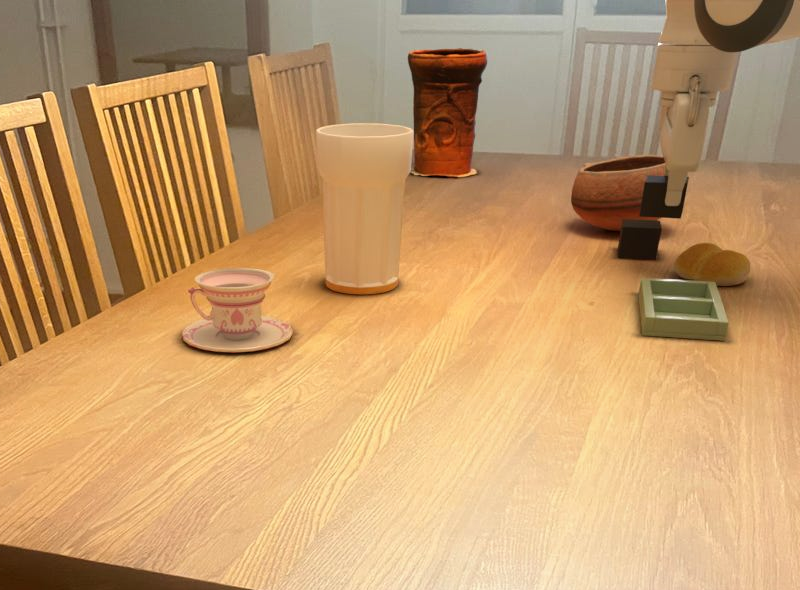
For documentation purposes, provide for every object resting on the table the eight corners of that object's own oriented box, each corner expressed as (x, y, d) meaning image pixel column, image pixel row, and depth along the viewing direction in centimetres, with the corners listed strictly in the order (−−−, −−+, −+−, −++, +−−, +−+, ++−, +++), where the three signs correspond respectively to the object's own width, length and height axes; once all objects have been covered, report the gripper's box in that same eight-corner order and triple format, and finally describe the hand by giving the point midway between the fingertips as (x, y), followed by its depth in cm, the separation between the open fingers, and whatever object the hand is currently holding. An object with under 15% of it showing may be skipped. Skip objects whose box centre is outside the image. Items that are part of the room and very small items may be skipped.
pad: (682, 210, 123) (689, 176, 121) (680, 218, 119) (687, 183, 117) (642, 208, 124) (647, 175, 122) (639, 216, 121) (644, 181, 118)
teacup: (274, 315, 111) (273, 259, 107) (307, 347, 101) (306, 287, 98) (172, 326, 108) (166, 268, 104) (195, 360, 98) (190, 298, 95)
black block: (654, 251, 134) (660, 220, 132) (655, 259, 130) (661, 228, 128) (617, 249, 135) (622, 218, 133) (617, 257, 131) (623, 226, 129)
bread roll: (721, 291, 117) (728, 257, 115) (662, 275, 123) (668, 243, 121) (762, 280, 121) (771, 247, 119) (703, 265, 127) (710, 233, 125)
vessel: (400, 178, 179) (405, 53, 168) (405, 165, 191) (410, 47, 179) (478, 179, 178) (488, 53, 166) (478, 166, 189) (488, 47, 178)
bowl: (570, 215, 153) (580, 145, 147) (673, 221, 149) (687, 149, 143) (563, 238, 140) (573, 162, 135) (675, 244, 137) (690, 167, 131)
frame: (711, 298, 115) (715, 281, 114) (724, 341, 102) (729, 322, 101) (638, 294, 117) (641, 277, 115) (642, 335, 104) (645, 316, 103)
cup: (420, 279, 123) (429, 126, 113) (382, 302, 115) (387, 139, 105) (342, 268, 127) (344, 120, 117) (300, 289, 119) (297, 132, 109)
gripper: (729, 81, 104) (703, 217, 112) (713, 65, 120) (691, 185, 128) (669, 81, 105) (646, 216, 113) (661, 65, 121) (642, 184, 129)
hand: (670, 199), depth 121 cm, fingers closed on pad, 5 cm apart
